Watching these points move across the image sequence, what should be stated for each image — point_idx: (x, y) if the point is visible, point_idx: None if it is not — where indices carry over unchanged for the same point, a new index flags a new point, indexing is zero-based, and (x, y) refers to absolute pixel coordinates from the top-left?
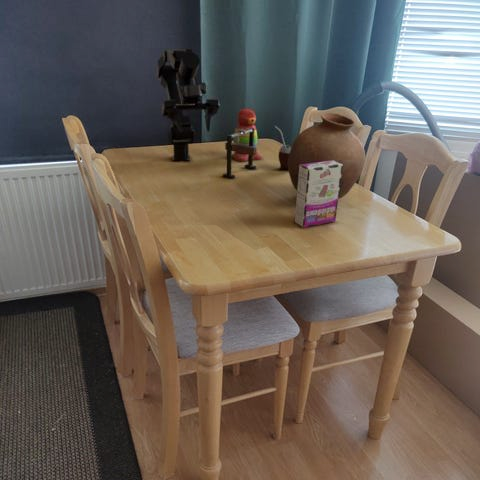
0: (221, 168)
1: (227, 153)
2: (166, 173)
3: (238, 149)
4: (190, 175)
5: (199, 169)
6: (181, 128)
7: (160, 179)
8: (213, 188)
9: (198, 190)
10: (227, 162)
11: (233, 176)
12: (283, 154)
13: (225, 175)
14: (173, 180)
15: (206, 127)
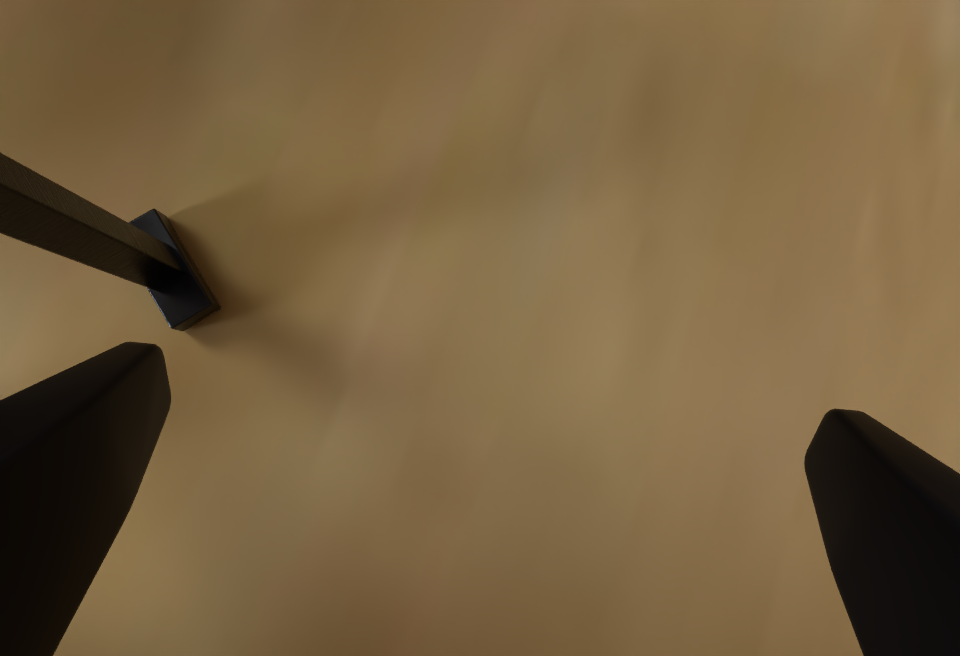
0: (108, 585)
1: (59, 206)
2: (711, 592)
3: None
4: (505, 454)
5: (348, 623)
6: (883, 441)
7: (810, 425)
8: (437, 40)
9: (577, 37)
10: (121, 233)
11: (137, 219)
12: None
13: (198, 278)
14: (704, 359)
15: (113, 537)
